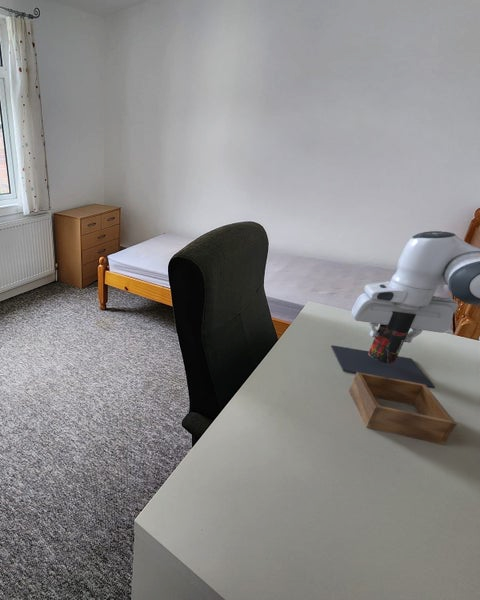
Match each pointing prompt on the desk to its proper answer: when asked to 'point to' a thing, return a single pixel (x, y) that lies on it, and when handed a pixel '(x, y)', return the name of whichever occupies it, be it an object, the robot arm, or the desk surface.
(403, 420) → the wooden box
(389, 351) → the deodorant
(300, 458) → the desk surface
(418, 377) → the desk mat
